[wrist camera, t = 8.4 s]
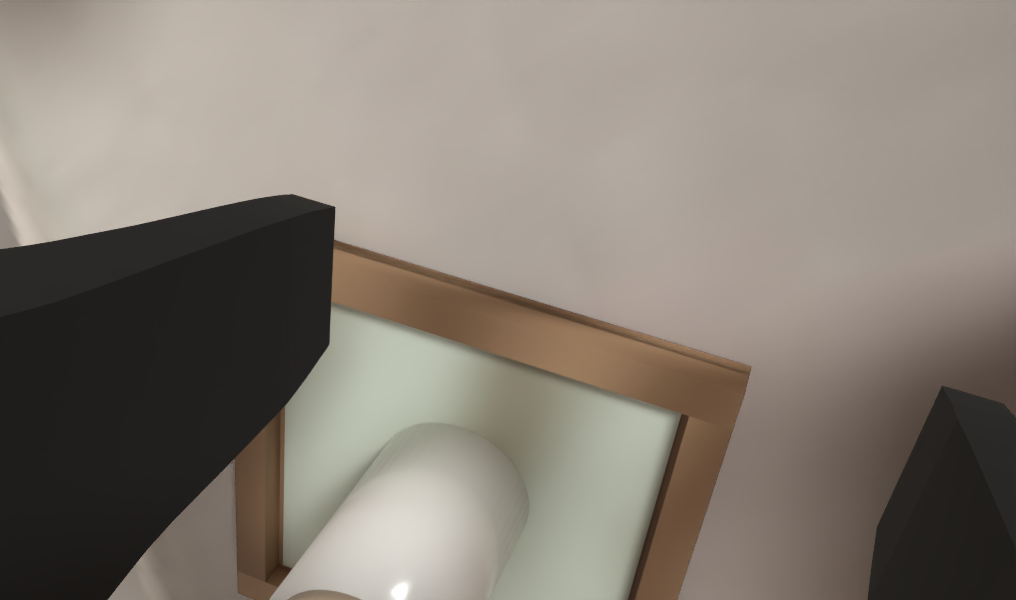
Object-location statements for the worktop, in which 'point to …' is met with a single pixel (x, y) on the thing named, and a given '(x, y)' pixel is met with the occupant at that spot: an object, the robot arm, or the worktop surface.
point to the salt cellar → (419, 524)
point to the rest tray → (499, 429)
